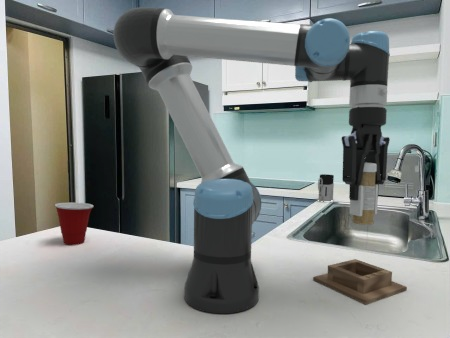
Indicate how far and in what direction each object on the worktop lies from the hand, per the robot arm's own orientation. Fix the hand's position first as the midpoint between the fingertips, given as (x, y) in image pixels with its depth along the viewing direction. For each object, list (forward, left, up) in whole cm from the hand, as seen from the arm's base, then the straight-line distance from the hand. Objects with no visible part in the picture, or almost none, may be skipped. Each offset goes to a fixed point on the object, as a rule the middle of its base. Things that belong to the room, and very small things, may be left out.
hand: (363, 213), depth 77 cm
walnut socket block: (0, 0, -16) cm, 16 cm away
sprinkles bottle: (0, 0, -2) cm, 2 cm away
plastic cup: (-50, +64, -16) cm, 83 cm away
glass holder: (+81, +86, -17) cm, 119 cm away
